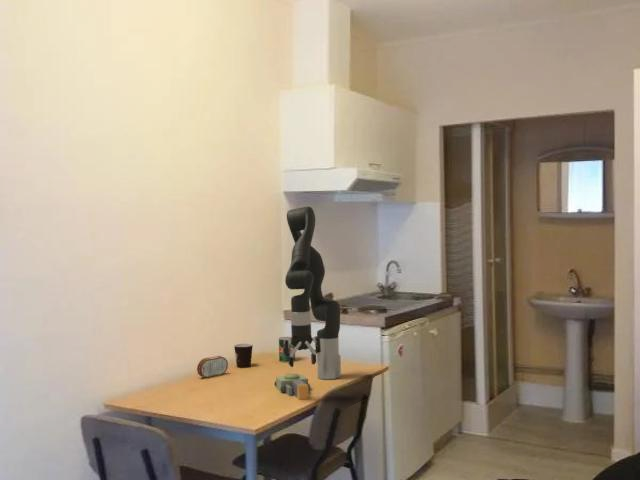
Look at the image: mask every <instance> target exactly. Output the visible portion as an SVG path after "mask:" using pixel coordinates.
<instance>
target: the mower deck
mask: <svg viewBox="0 0 640 480" xmlns="http://www.w3.org/2000/svg"><path fill="white" fill-rule="evenodd" d="M294 380H301V381H303V382H304V383H305V384H307V385H308V395H309V394H310V389H311V385H310V383H309V378H307V376H305V375H304V374H300V373H299V374H298V373H287V374H284V375H282V376H281V375H280V376H276V377H275V381H274V383H273V384H274V386H275V388H276V390H278V391H279V392H281V393H283V394H287V396H289V397H290V396H291V397H292V396H293V394H292V381H294Z"/></svg>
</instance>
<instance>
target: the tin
mask: <svg viewBox="0 0 640 480" xmlns="http://www.w3.org/2000/svg"><path fill="white" fill-rule="evenodd" d="M228 367H229V363H228V359H226V358H225V357H224V356H222V355H217V356H211V357H204V358H202V359H201V360H199V362H198V364H197V367H196V371H197V375H198V376H199V377H202V378H206V379H208V378H213V377H218V376H222V375H224V374H225V373H226V372H227V370H228Z"/></svg>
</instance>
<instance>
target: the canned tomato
mask: <svg viewBox="0 0 640 480" xmlns="http://www.w3.org/2000/svg"><path fill="white" fill-rule="evenodd" d="M291 338H292V336H283V337H279V338H278V356H279V357H278V361H279V363H280V362H281V363H289V360H288V356H285V355H284V354H283V341H284V339H286V340H291ZM292 346H293V345H292V343H290V345H289V346H288V353H289V352H290V350H291V348H292ZM292 357H293V362H295V361H296V352H295V353H294V355H293V356H292Z"/></svg>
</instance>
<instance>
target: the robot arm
mask: <svg viewBox="0 0 640 480" xmlns="http://www.w3.org/2000/svg"><path fill="white" fill-rule="evenodd" d="M286 221H287V225H288V228H289V231H290V234H291V236H292V239H293V241H294V242H293V243H294V245H293V246H292V247H293V248H292V251H291V262H290V266H289V268H288V270H287V272H286V275H285V279H284V280H285V281H284V282H285V286H286V287H287V288H288V289H289V290H304V291H303V292H302V293H300V294H297V295H293V296H291V299H290V308H291V313H290V314H291V315H290V325H291V326H290V327H291V337H292V338H291V340H286V339H284V341H283V354H284V355H285V356H288V360H289V362H288V365H289V366H290V367H291V368H293V367H294V361H293V357H292V356H293V355H294V353H295V354H296V352H297V351H302V350H303V351H304V350H305V351H306V350H309V352H311V354H310V356H311V357H310V358H311V360H310V361H311V362H310V363H311V365H315V364H316V363H317V378H318V379H320V380H335V379H338V378H339V379H340V378H341V377H342V372H341V371H342V369H341V366H342V365H341V354H339V353H340V351H339V350H340V349H339V348H340V347H339V346H340V345H339V340H340V339H339V335H340V330H341V307H340V304H339V302H338V301H337V300H334V299H324V295H323V291H322V284H323V281H324V278H325V274H326V270H325V269H326V268H325V265H324V261H323V257H322V255H321V253H320V252H319V251H317V250H316V248H314V247H313V246H312V242H313V241H312V240H313V237H314V232H315V228H316V214H315V211H314V209H313V207H311V206H302V207H298V208H297V207H296V208H293V209H289V210H287V212H286ZM302 231H303V232H302ZM310 308H311V309H310ZM311 311H312V316H313V317H314V319H315V320H317V321H319V322H325V324H324V327H323V328H322V329H321V328H320V329H318V330H317V332H316V336H314V337H313V336H312V316H311ZM290 343H292V345H293V346H292V348H291V350H290V352H289V353H288V346H289V345H290ZM312 343H314V346H315V349H314V348H313V346H312V345H311V344H312Z"/></svg>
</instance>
